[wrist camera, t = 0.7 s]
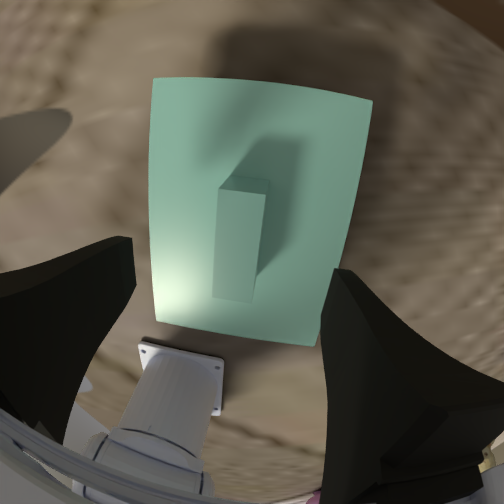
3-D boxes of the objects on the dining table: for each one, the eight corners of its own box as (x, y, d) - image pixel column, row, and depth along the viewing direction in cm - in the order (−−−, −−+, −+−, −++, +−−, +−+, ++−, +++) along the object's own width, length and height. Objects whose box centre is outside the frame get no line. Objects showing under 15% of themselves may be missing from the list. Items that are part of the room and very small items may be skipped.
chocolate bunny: (492, 410, 27) (511, 463, 18) (493, 426, 30) (508, 473, 21) (460, 428, 29) (475, 483, 20) (464, 442, 32) (477, 490, 23)
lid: (313, 331, 19) (315, 376, 15) (163, 307, 19) (141, 346, 16) (365, 101, 12) (390, 99, 9) (165, 80, 13) (128, 74, 9)
